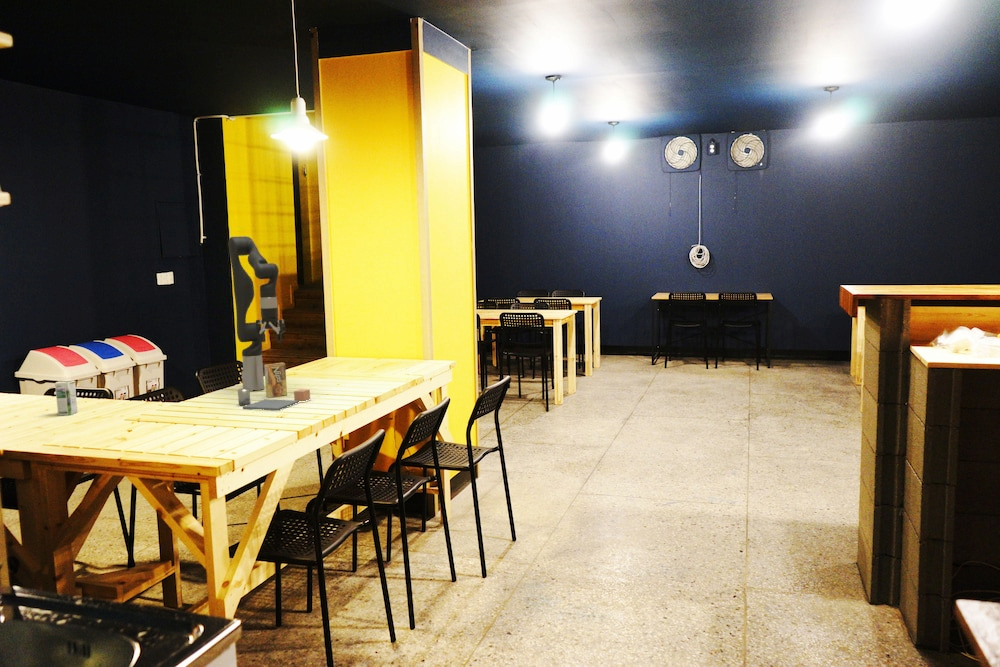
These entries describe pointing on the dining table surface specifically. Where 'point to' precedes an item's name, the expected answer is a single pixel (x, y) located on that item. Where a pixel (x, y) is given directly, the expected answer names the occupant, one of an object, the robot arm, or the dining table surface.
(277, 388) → the candy box
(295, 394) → the terracotta block
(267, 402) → the slate board
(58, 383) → the syrup box
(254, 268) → the robot arm
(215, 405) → the dining table surface
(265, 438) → the dining table surface
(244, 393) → the grey metal cylinder
